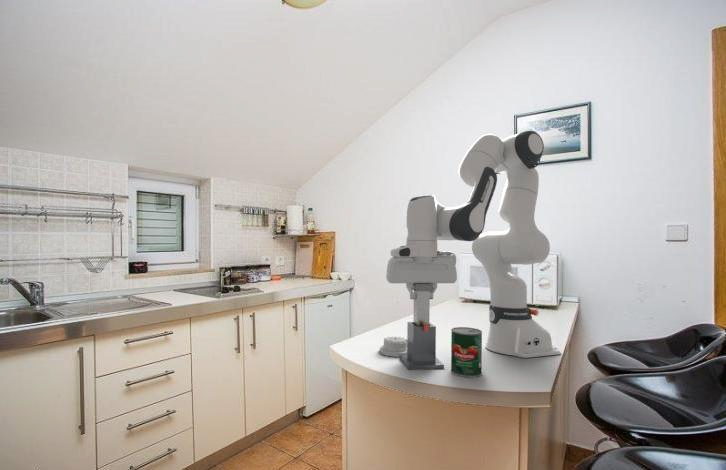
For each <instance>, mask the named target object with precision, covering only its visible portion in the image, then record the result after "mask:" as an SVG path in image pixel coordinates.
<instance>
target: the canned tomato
mask: <svg viewBox="0 0 726 470" xmlns="http://www.w3.org/2000/svg"><path fill="white" fill-rule="evenodd" d="M450 330H451V336H450V337H451V340H450V341H451V342H450V343H451V345H450V347H451V349H450V351H451V352H450V353H451V354H450V355H451V356H450V357H451V358H450V359H451V360H450V365H451V366H450V371H451V373H452V374H454V375H457V376H459V377H463V378H477V377H478V378H479V377H480V376H481V375H482V374H483V372H482V369H483V368H482V367H483V365H482V364H483V362H482V358H483V356H482V355H483V352H482V351H483V341H482V340H483V336H482V335H483V331H482V330H481V329H479V328H473V327H468V326H467V327H466V326H464V327H463V326H459V327H458V326H457V327H452V328H451V329H450Z"/></svg>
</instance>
